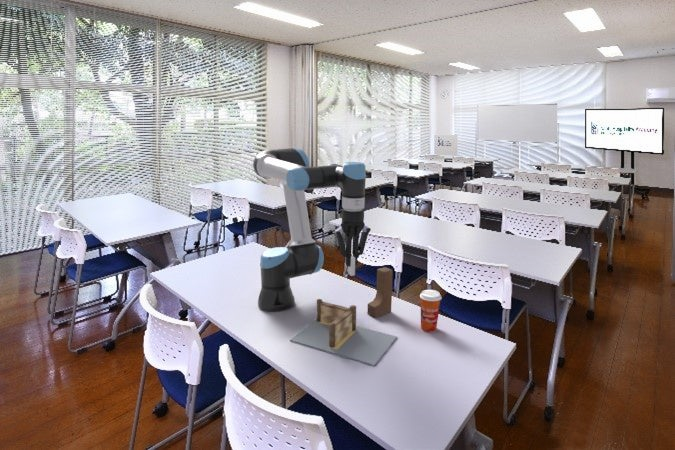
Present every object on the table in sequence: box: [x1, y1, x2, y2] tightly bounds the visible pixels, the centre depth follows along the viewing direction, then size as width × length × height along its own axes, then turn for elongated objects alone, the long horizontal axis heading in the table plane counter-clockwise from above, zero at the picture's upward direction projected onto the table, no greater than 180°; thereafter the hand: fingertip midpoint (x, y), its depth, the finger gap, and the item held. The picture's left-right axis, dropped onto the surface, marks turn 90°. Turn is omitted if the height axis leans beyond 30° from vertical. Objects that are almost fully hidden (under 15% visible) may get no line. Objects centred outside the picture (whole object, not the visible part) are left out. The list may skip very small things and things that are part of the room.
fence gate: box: [329, 310, 352, 347], centre depth 144 cm, size 14×2×8 cm, turn 148°
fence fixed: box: [316, 298, 357, 331], centre depth 154 cm, size 16×2×9 cm, turn 62°
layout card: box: [289, 318, 398, 367], centre depth 146 cm, size 32×20×1 cm, turn 62°
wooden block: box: [366, 266, 394, 318], centre depth 163 cm, size 9×4×18 cm, turn 125°
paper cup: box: [419, 289, 443, 333], centre depth 152 cm, size 8×8×14 cm
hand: (351, 274), depth 145 cm, fingers closed
